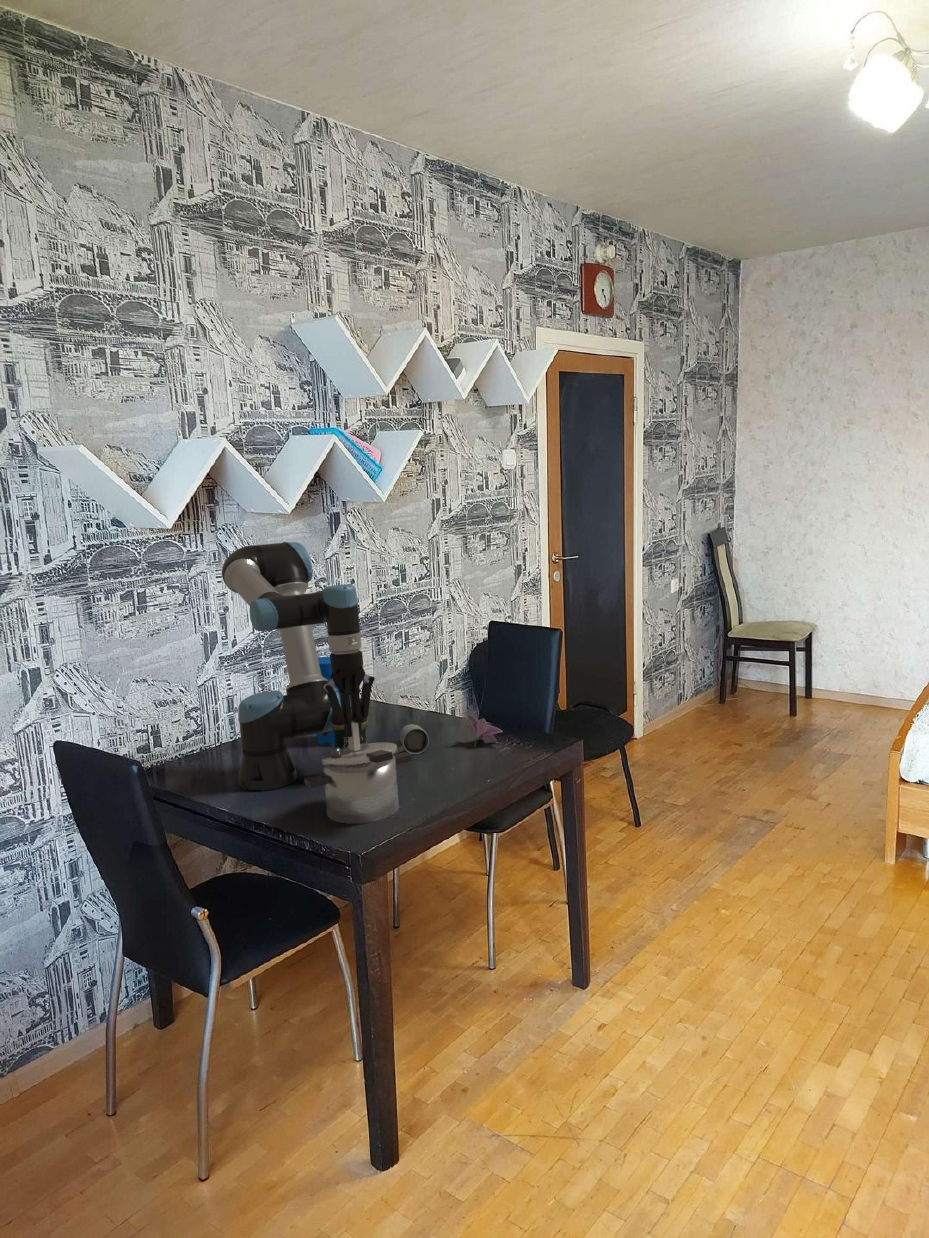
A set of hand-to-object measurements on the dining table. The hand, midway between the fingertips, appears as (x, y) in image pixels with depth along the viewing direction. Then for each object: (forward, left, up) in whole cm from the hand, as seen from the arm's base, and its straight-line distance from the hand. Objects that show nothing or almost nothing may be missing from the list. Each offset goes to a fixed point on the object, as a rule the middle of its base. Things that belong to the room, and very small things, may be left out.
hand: (354, 748), depth 209 cm
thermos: (-54, +21, -15) cm, 60 cm away
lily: (-19, +51, -15) cm, 56 cm away
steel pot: (+2, 0, -15) cm, 15 cm away
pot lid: (+4, 0, -1) cm, 4 cm away
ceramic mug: (-29, +32, -15) cm, 46 cm away
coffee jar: (-22, +10, -15) cm, 29 cm away
